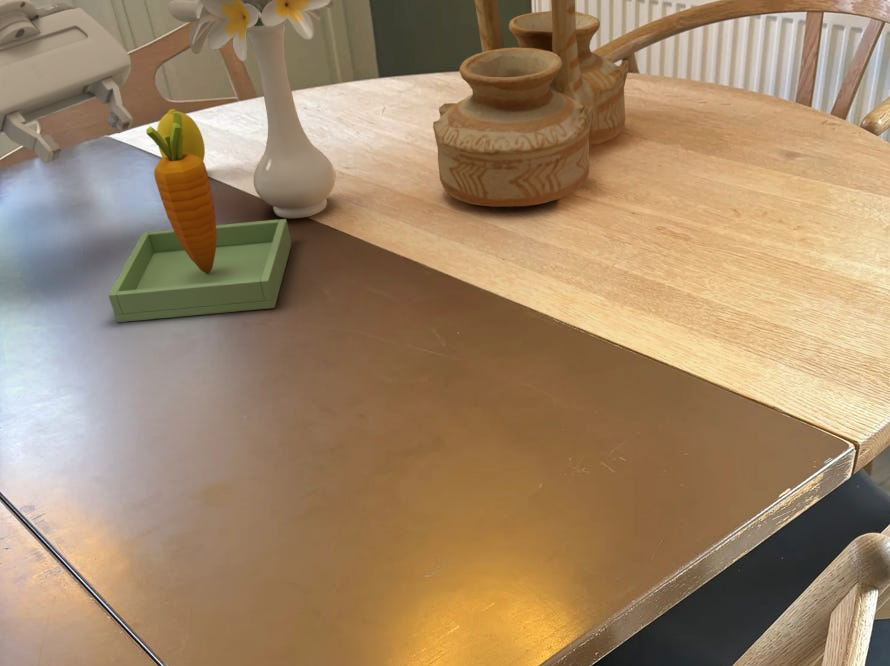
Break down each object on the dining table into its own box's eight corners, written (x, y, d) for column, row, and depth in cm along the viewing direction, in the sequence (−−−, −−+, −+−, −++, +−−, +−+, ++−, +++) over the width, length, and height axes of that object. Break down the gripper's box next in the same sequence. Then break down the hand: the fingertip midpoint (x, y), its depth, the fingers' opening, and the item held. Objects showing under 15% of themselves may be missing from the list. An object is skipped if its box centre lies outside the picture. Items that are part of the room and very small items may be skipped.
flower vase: (253, 186, 125) (197, -57, 108) (389, 193, 119) (353, -62, 102) (196, 227, 116) (127, -30, 99) (340, 237, 110) (292, -34, 93)
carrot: (189, 288, 102) (143, 128, 92) (179, 270, 105) (133, 115, 95) (237, 275, 103) (196, 117, 93) (225, 259, 107) (185, 104, 96)
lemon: (177, 170, 131) (158, 103, 126) (217, 168, 131) (200, 101, 125) (161, 186, 128) (142, 117, 122) (203, 184, 127) (185, 115, 121)
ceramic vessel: (580, 220, 108) (576, -59, 91) (419, 214, 113) (386, -51, 96) (641, 117, 131) (647, -121, 114) (505, 116, 137) (491, -112, 119)
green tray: (117, 322, 99) (107, 295, 97) (150, 257, 111) (142, 232, 109) (274, 308, 99) (268, 280, 97) (291, 244, 110) (286, 218, 108)
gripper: (66, 23, 107) (158, 131, 110) (-104, 76, 95) (3, 196, 98) (80, -25, 102) (175, 89, 105) (-98, 24, 90) (15, 152, 93)
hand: (91, 141), depth 101 cm, fingers open, 8 cm apart
